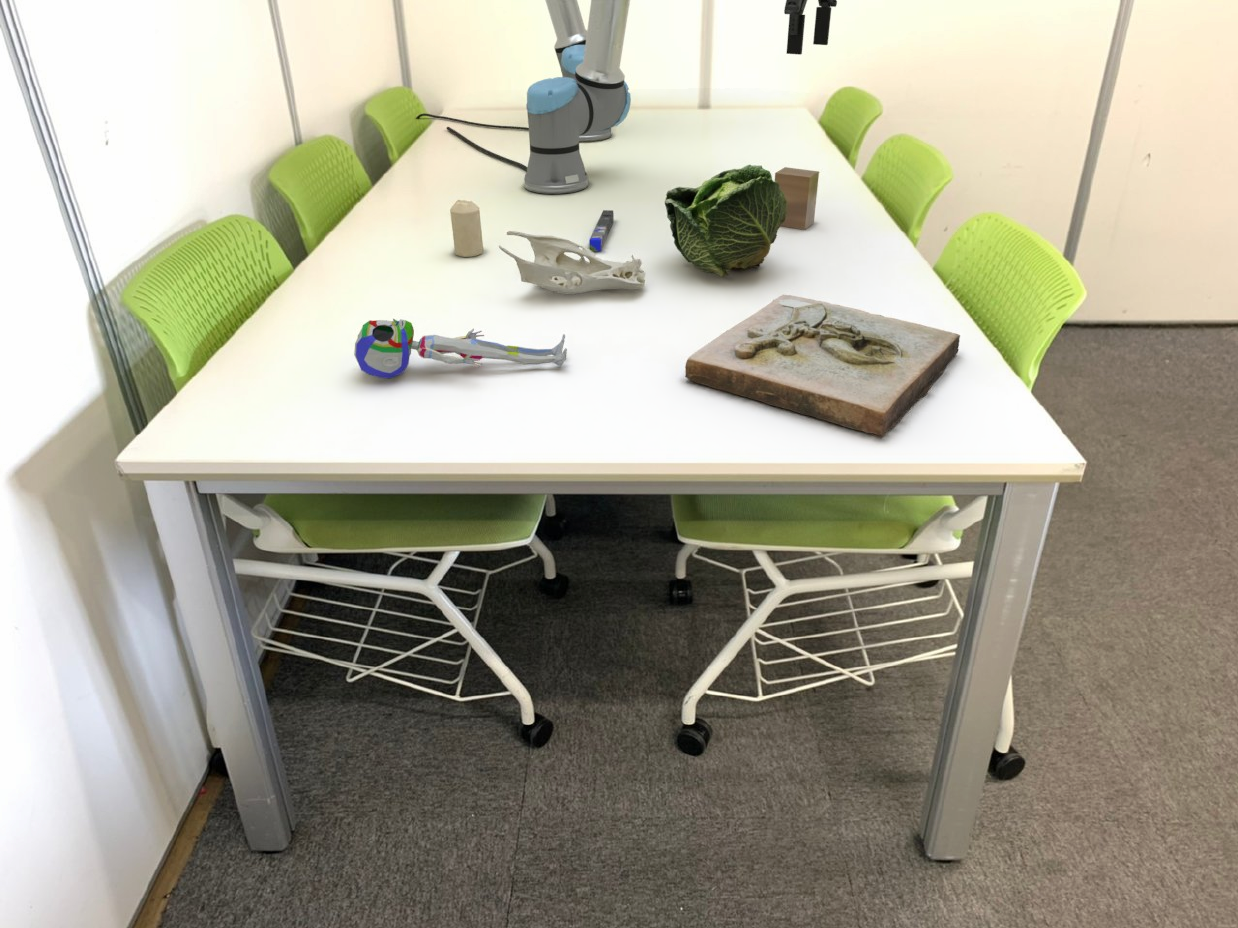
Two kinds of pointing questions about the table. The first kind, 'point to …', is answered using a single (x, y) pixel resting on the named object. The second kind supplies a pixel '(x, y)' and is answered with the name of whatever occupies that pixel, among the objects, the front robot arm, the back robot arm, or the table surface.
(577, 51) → the back robot arm
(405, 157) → the table surface
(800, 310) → the plaque
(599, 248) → the blue capped marker
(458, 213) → the candle
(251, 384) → the table surface
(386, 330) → the toy
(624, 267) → the anatomical model
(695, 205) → the vegetable
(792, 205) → the block
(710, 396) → the table surface
